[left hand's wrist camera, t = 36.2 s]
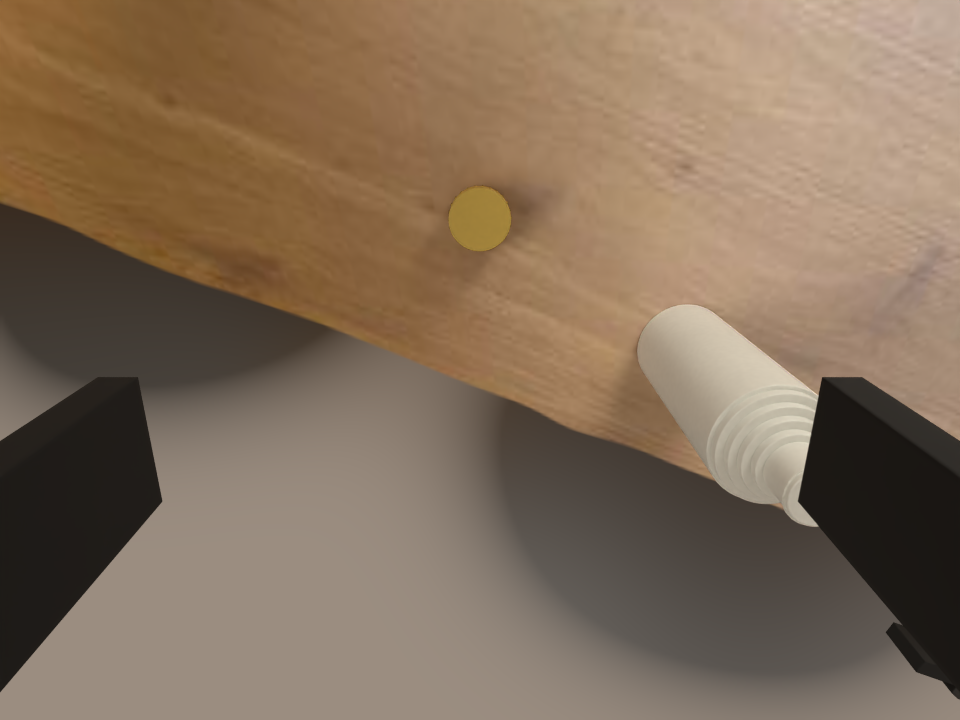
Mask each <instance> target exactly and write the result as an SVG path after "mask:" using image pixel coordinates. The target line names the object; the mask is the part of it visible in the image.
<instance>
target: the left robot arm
mask: <svg viewBox="0 0 960 720" xmlns="http://www.w3.org/2000/svg"><path fill="white" fill-rule="evenodd" d="M161 502H162V497H161V492H160V487H159V482H158V477H157V472H156V467H155V462H154V457H153V452H152V447H151V442H150V437H149V432H148V427H147V421H146V416H145V411H144V406H143V401H142V396H141V391H140V386H139V381H138V377H98V378H96V379H95V380H93V381H92V382H90V383H88V384H87V385H85V386H84V387H82V388H81V389H79V390H78V391H76V392H75V393H73V394H72V395H70V396H69V397H67V398H65V399H64V400H62V401H61V402H59V403H58V404H56V405H55V406H53V407H52V408H50V409H49V410H47V411H46V412H44V413H42V414H41V415H39V416H38V417H36V418H35V419H33V420H32V421H30V422H29V423H27V424H26V425H24V426H23V427H21V428H19V429H18V430H16V431H15V432H13V433H12V434H10V435H9V436H7V437H6V438H4V439H3V440H1V441H0V692H1V691H2V689H3V688H4V687H5V686H6V685H7V684H8V682H9V681H10V680H11V679H12V678H13V676H14V675H15V674H16V673H17V672H18V671H19V669H20V668H21V667H22V666H23V665H24V664H25V662H26V661H27V660H28V659H29V658H30V657H31V655H32V654H33V653H34V652H35V651H36V649H37V648H38V647H39V646H40V645H41V644H42V642H43V641H44V640H45V639H46V638H47V636H48V635H49V634H50V633H51V632H52V631H53V629H54V628H55V627H56V626H57V625H58V624H59V622H60V621H61V620H62V619H63V618H64V616H65V615H66V614H67V613H68V612H69V611H70V609H71V608H72V607H73V606H74V605H75V604H76V602H77V601H78V600H79V599H80V598H81V597H82V595H83V594H84V593H85V592H86V591H87V589H88V588H89V587H90V586H91V585H92V584H93V582H94V581H95V580H96V579H97V578H98V577H99V575H100V574H101V573H102V572H103V571H104V569H105V568H106V567H107V566H108V565H109V564H110V562H111V561H112V560H113V559H114V558H115V557H116V555H117V554H118V553H119V552H120V551H121V549H122V548H123V547H124V546H125V545H126V544H127V542H128V541H129V540H130V539H131V538H132V537H133V535H134V534H135V533H136V532H137V531H138V530H139V528H140V527H141V526H142V525H143V524H144V522H145V521H146V520H147V519H148V518H149V517H150V515H151V514H152V513H153V512H154V511H155V510H156V508H157V507H158V506H159V505H160V504H161ZM798 502H799V504H800V505H801V506H802V507H803V508H804V510H805V511H806V512H807V513H808V514H809V515H810V517H811V518H812V519H813V520H814V521H815V522H816V524H817V525H818V526H819V527H820V528H821V530H822V531H823V532H824V533H825V534H826V535H827V537H828V538H829V539H830V540H831V541H832V542H833V544H834V545H835V546H836V547H837V548H838V549H839V551H840V552H841V553H842V554H843V555H844V557H845V558H846V559H847V560H848V561H849V562H850V564H851V565H852V566H853V567H854V568H855V570H856V571H857V572H858V573H859V574H860V575H861V576H862V578H863V579H864V580H865V581H866V582H867V584H868V585H869V586H870V587H871V588H872V590H873V591H874V592H875V593H876V594H877V595H878V597H879V598H880V599H881V600H882V601H883V602H884V604H885V605H886V606H887V607H888V608H889V609H890V611H891V612H892V613H893V614H894V615H895V617H896V618H897V619H898V620H899V621H900V622H901V624H902V625H903V626H904V627H905V628H906V629H907V631H908V632H909V633H910V634H911V635H912V637H913V638H914V639H915V640H916V641H917V642H918V644H919V645H920V646H921V647H922V648H923V649H924V651H925V652H926V653H927V654H928V655H929V657H930V658H931V659H932V660H933V661H934V662H935V664H936V665H937V666H938V667H939V668H940V669H941V671H942V672H943V673H944V674H945V675H946V677H947V678H948V679H949V680H950V681H951V682H952V684H953V685H954V686H955V687H956V688H957V689H958V691H959V692H960V441H959V440H957V439H956V438H954V437H953V436H951V435H950V434H948V433H947V432H945V431H944V430H942V429H941V428H939V427H937V426H936V425H934V424H933V423H931V422H930V421H928V420H927V419H925V418H924V417H922V416H921V415H919V414H918V413H916V412H914V411H913V410H911V409H910V408H908V407H907V406H905V405H904V404H902V403H901V402H899V401H898V400H896V399H895V398H893V397H892V396H890V395H888V394H887V393H885V392H884V391H882V390H881V389H879V388H878V387H876V386H875V385H873V384H872V383H870V382H869V381H867V380H865V379H864V378H862V377H822V381H821V386H820V391H819V396H818V401H817V406H816V411H815V416H814V421H813V426H812V432H811V437H810V442H809V447H808V452H807V457H806V462H805V467H804V472H803V477H802V482H801V487H800V492H799V497H798Z"/></svg>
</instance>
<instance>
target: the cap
mask: <svg viewBox="0 0 960 720" xmlns="http://www.w3.org/2000/svg"><path fill="white" fill-rule="evenodd" d="M510 211H511V210H510V208H509V207H508V202H507V201H505V199H504V197H503V195H501V194H500V193H498V191H497V190H494V189H492V188H491V187H485V186H483V185H482V186H476V185H474V187H470V188H467V189H466V190H464V191H463V192H462V191H461V192H460V194H459V195H458V196H457V197H455V200H454V201H453V203H452V204H451V209H450V210H449V218H448V221H449V229H450V231H451V233H452V236H453V237H454V238H455V240H456V241H457V242H458V243H459V244H460V245H462V246H463V247H465V248H467V249H469V250H473V251H487V250H490V249H493V248H495V247H496V246H498V245H499V244H500V243H501V242H502V241H503V240H504V239H505V238H506V236H507V234H508V232H509V229H510V227H511V219H512V217H511V214H510Z"/></svg>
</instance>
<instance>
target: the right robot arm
mask: <svg viewBox="0 0 960 720" xmlns="http://www.w3.org/2000/svg"><path fill="white" fill-rule="evenodd" d="M886 633H887V635H888V636H889V637H890V638H891V640H892V641H893V642H894V644H895V645H896V646H897V648H898V649H899V650H900V651H901V653H902V654H903V655H904V657H905V658H906V659H907V661H908V662H909V663H910V665H911V666H912V667H913V668H914V670H915V671H916V672H918V673H920V674H923V675H926V676H929V677H932V678H935V679H938V680H941V681H943V683H944V684H945V685H946V686H947V688H948V689H949V690H950V691H951V693H952V694H953V695H954V696H955V697H957V698H958V699H960V692H959V691H958V689H957V688H956V687H955V686H954V685H953V684H952V682H951V681H950V680H949V679H948V678H947V677H946V675H945V674H944V673H943V672H942V671H941V669H940V668H939V667H938V666H937V665H936V664H935V662H934V661H933V660H932V659H931V658H930V657H929V655H928V654H927V653H926V652H925V651H924V649H923V648H922V647H921V646H920V645H919V644H918V642H917V641H916V640H915V639H914V638H913V637H912V635H911V634H910V633H909V632H908V631H907V629H906V628H905V627H904V626H903V625H900V624H897V623H893V624H892V625H891V627H890V628H889V629H888V630H887V631H886Z"/></svg>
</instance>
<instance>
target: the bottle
mask: <svg viewBox="0 0 960 720" xmlns="http://www.w3.org/2000/svg"><path fill="white" fill-rule="evenodd" d="M637 356H638V361H639V365H640V367H641V369H642V371H643V373H644V374H645V376H646V377H647V379H648V380H649V382H650V383H651V385H652V386H653V388H654V389H655V391H656V392H657V394H658V395H659V397H660V398H661V400H662V401H663V403H664V404H665V406H666V407H667V409H668V410H669V412H670V413H671V415H672V416H673V418H674V419H675V421H676V422H677V424H678V425H679V427H680V428H681V430H682V431H683V433H684V434H685V436H686V437H687V439H688V440H689V442H690V443H691V445H692V446H693V448H694V449H695V451H696V452H697V454H698V455H699V457H700V458H701V460H702V461H703V463H704V464H705V466H706V467H707V468H708V470H709V471H710V473H711V474H712V476H713V477H714V479H715V480H716V481H717V483H718V484H719V485H720V486H721V487H722V488H724V489H725V490H726V491H728V492H729V493H731V494H733V495H735V496H737V497H740V498H742V499H744V500H747V501H750V502H754V503H761V504H775V503H781V504H782V505H783V508H784V511H785V512H786V513H787V515H788V516H789V517H790V518H791V519H792V520H794V521H796V522H797V523H799V524H803V525H806V526H812V527H818V525H817V524H816V522H815V521H814V520H813V519H812V518H811V517H810V515H809V514H808V513H807V512H806V511H805V510H804V508H803V507H802V506H801V505H800V504H799V502H798V497H799V492H800V487H801V482H802V477H803V472H804V467H805V462H806V457H807V452H808V447H809V442H810V437H811V432H812V426H813V421H814V416H815V411H816V406H817V401H818V395H817V394H816V393H814V392H813V391H812V390H811V389H809V388H808V387H807V386H806V385H804V384H803V383H802V382H801V381H799V380H798V379H797V378H795V377H794V376H793V375H792V374H790V373H789V372H788V371H787V370H785V369H784V368H783V367H782V366H780V365H779V364H778V363H777V362H775V361H774V360H773V359H771V358H770V357H769V356H768V355H766V354H765V353H764V352H763V351H761V350H760V349H759V348H758V347H756V346H755V345H754V344H752V343H751V342H750V341H749V340H747V339H746V338H745V337H744V336H742V335H741V334H740V333H739V332H737V331H736V330H735V329H734V328H732V327H731V326H730V325H728V324H727V323H726V322H725V321H723V320H722V319H721V318H720V317H718V316H717V315H716V314H715V313H713V312H712V311H710V310H709V309H707V308H704V307H702V306H698V305H691V304H684V305H677V306H673V307H670V308H668V309H666V310H664V311H662V312H660V313H659V314H657V315H656V316H655V317H654V318H653V319H651V320H650V322H649V323H648V324H647V325H646V327H645V328H644V330H643V332H642V333H641V336H640V339H639V342H638V348H637Z"/></svg>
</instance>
